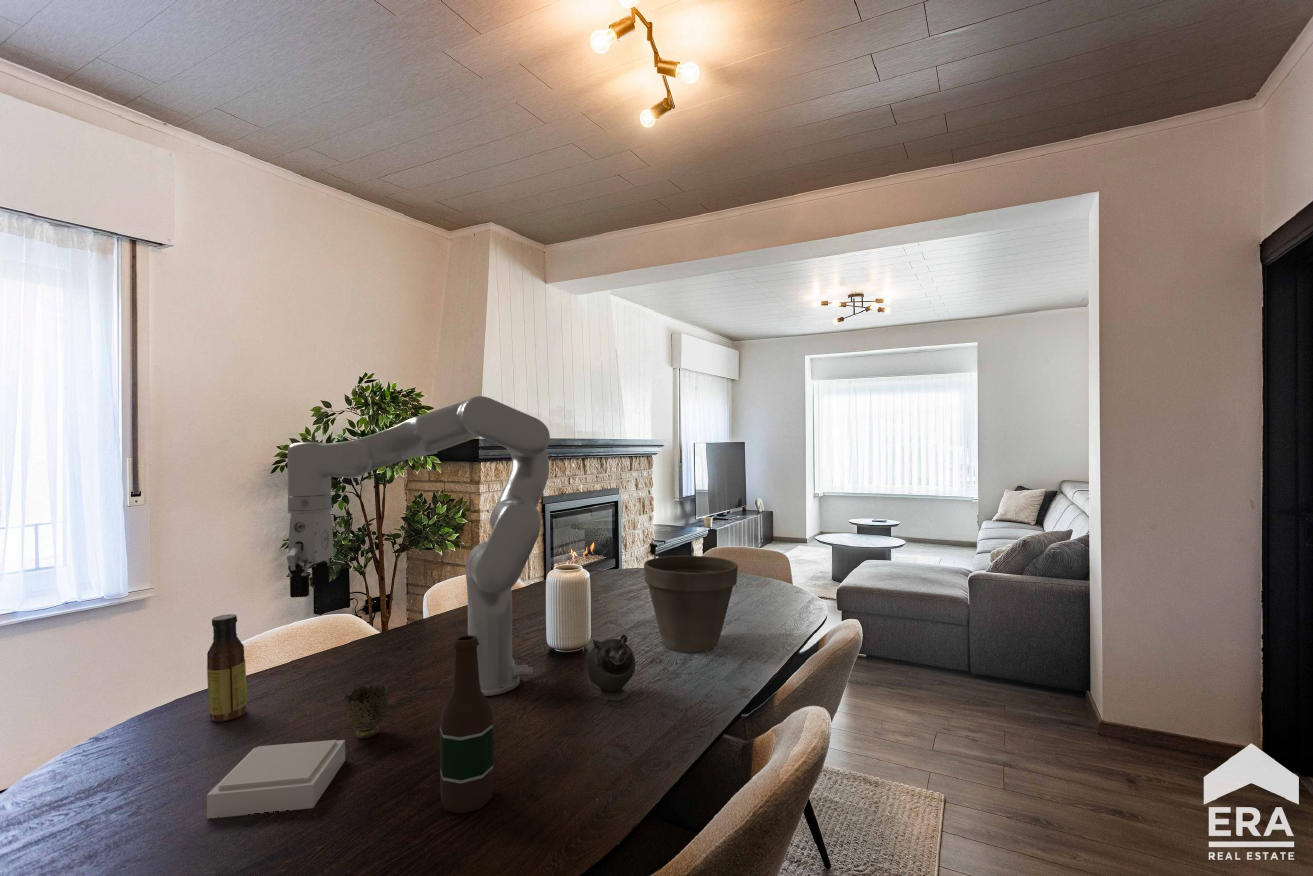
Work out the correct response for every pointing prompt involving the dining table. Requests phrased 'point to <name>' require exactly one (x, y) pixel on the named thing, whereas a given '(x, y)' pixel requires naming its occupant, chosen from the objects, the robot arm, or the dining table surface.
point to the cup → (367, 709)
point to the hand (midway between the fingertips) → (310, 590)
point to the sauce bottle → (226, 671)
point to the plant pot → (690, 599)
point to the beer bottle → (466, 736)
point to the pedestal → (277, 779)
